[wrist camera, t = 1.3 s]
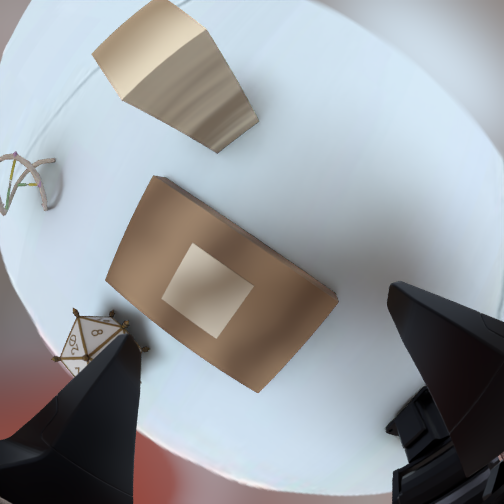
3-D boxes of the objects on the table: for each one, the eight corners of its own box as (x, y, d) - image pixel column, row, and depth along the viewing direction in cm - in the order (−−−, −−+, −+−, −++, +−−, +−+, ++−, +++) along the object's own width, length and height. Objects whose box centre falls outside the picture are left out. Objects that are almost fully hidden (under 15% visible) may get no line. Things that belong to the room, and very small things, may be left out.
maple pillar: (259, 121, 19) (206, 29, 7) (217, 153, 19) (121, 100, 8) (229, 87, 18) (159, -6, 7) (189, 118, 19) (91, 53, 8)
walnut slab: (335, 293, 20) (338, 302, 18) (261, 379, 22) (257, 394, 20) (165, 177, 20) (152, 175, 18) (118, 275, 23) (104, 280, 21)
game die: (129, 324, 28) (47, 330, 21) (149, 286, 23) (42, 289, 16) (153, 399, 24) (65, 414, 17) (181, 382, 19) (59, 403, 12)
